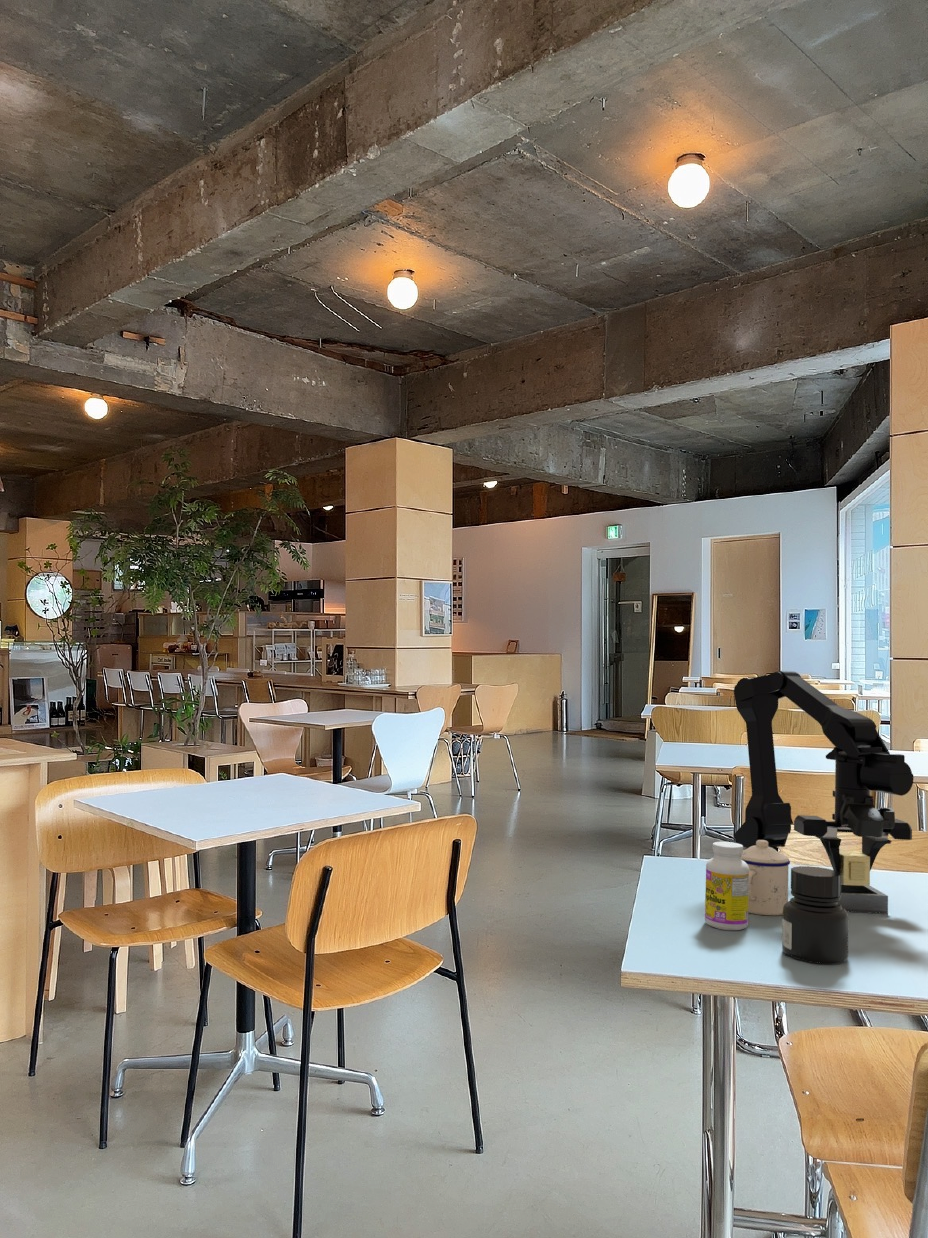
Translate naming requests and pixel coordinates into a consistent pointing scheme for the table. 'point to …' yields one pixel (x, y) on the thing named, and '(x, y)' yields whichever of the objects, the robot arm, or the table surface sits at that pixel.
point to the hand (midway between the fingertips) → (851, 876)
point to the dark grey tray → (863, 899)
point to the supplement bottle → (727, 887)
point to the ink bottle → (815, 917)
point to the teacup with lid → (766, 879)
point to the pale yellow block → (854, 868)
